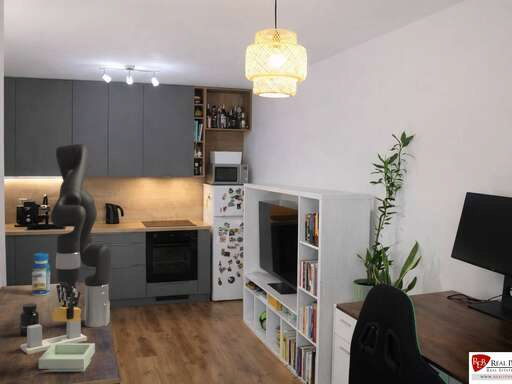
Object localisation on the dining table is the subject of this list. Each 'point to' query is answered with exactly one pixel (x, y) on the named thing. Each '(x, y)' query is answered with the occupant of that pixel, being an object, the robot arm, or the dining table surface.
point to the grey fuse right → (74, 329)
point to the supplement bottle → (28, 318)
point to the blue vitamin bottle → (41, 275)
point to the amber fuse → (65, 314)
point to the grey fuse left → (34, 336)
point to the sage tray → (67, 357)
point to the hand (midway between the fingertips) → (67, 317)
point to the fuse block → (48, 342)
